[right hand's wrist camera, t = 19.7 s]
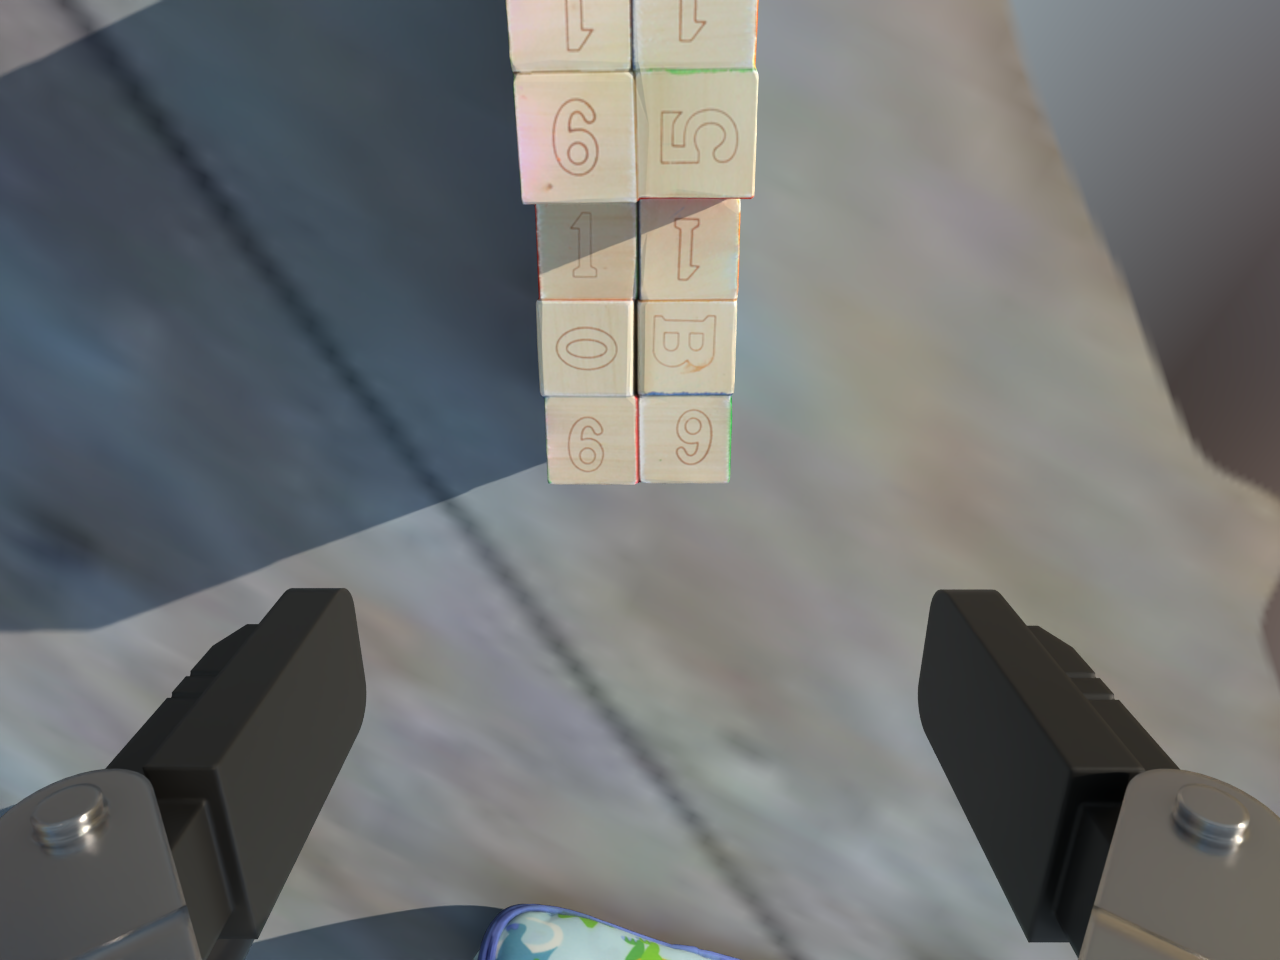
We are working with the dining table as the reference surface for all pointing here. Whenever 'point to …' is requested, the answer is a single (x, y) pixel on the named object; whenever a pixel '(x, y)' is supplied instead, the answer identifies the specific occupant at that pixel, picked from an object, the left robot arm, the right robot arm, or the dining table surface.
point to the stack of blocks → (636, 226)
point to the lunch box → (573, 938)
